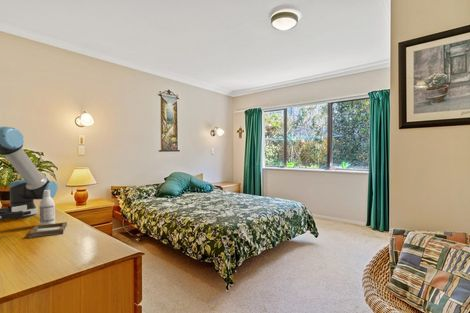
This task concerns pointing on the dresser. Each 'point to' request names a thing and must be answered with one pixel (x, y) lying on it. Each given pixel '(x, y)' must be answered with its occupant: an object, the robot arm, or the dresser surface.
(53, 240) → the dresser surface
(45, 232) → the tray
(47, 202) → the bath foam
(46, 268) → the dresser surface
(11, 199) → the robot arm
